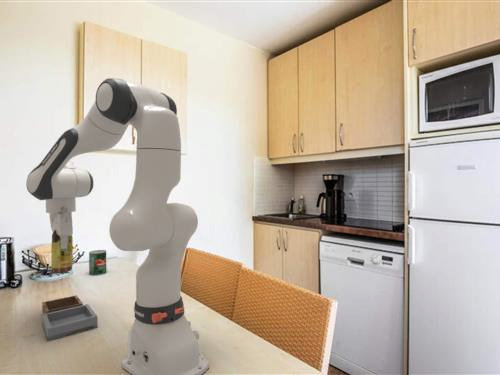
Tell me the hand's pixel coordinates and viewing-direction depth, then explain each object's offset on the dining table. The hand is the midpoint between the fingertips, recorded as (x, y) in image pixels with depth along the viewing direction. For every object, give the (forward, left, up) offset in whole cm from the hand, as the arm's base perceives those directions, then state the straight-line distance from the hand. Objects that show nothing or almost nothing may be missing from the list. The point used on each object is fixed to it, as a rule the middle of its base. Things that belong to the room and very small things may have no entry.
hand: (61, 247), depth 107 cm
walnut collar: (0, 0, -23) cm, 23 cm away
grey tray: (-13, 0, -23) cm, 27 cm away
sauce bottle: (0, 0, -9) cm, 9 cm away
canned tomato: (+45, -22, -23) cm, 55 cm away
